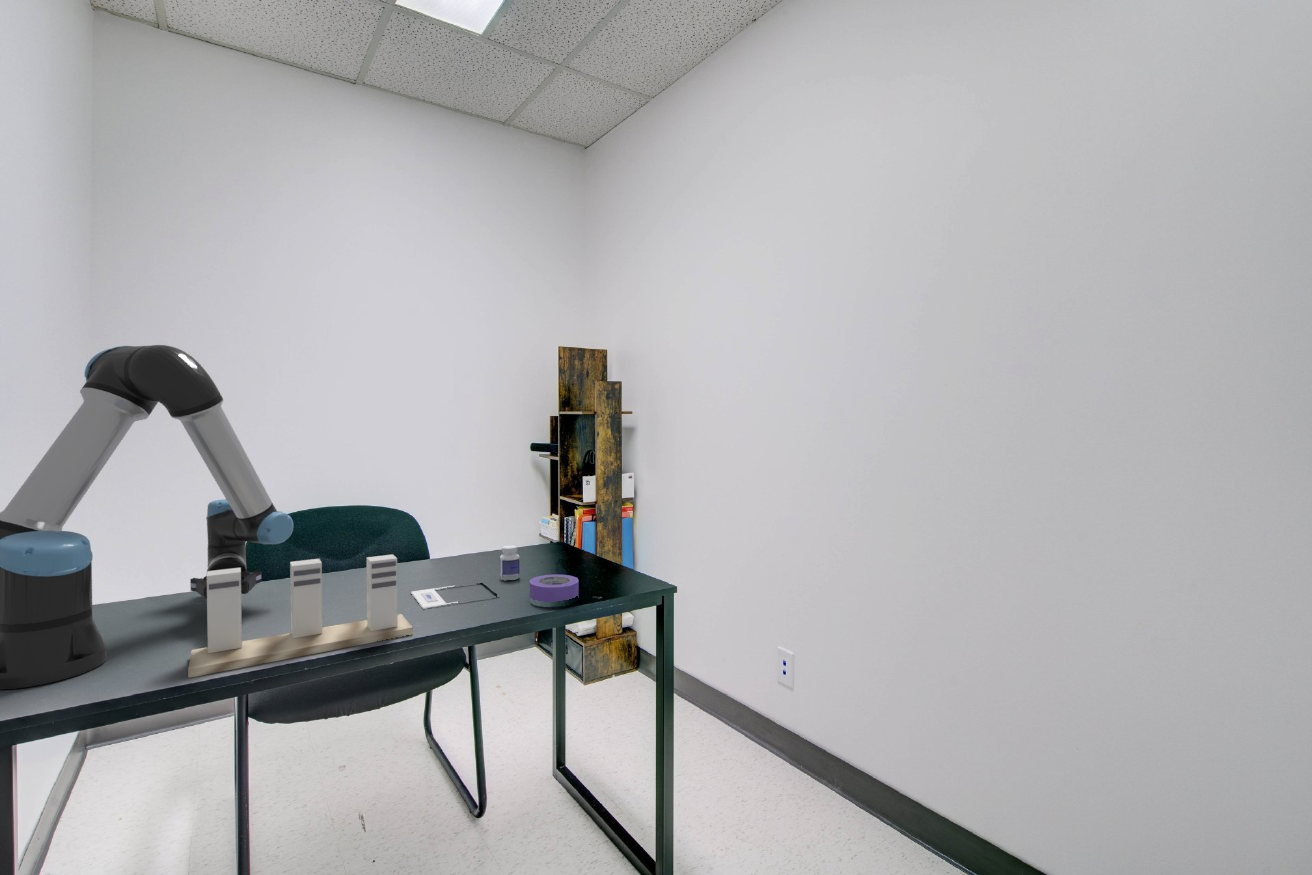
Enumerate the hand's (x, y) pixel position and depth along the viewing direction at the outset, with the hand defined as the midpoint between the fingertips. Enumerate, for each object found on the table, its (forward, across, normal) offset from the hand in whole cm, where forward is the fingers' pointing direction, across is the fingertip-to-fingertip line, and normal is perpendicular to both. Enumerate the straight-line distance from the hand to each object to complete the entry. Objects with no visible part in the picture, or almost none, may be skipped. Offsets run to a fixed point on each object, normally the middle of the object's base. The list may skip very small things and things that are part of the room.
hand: (226, 599), depth 118 cm
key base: (+13, -13, -8) cm, 20 cm away
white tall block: (+10, -13, -6) cm, 17 cm away
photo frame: (-4, -46, -9) cm, 47 cm away
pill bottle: (-11, -63, -8) cm, 64 cm away
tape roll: (+13, -65, -8) cm, 66 cm away
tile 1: (+10, 0, -6) cm, 12 cm away
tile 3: (+14, -26, -6) cm, 30 cm away
